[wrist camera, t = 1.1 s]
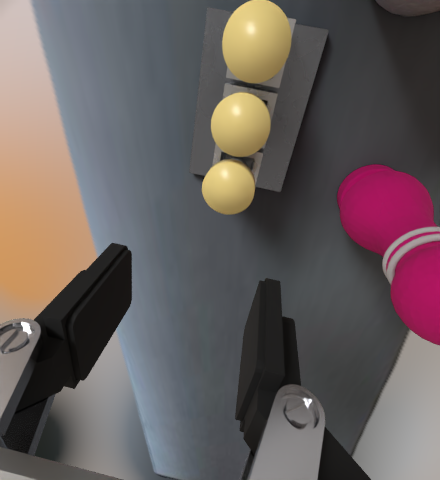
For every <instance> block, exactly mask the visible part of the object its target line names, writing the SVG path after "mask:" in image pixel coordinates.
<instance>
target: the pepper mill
mask: <svg viewBox="0 0 440 480" xmlns="http://www.w3.org/2000/svg"><path fill="white" fill-rule="evenodd" d="M337 202H338V206H339V208H340V219H341V223H342V226H343V228H344V229H345V231H346V232H347V234H348V235H349V236H350V237H351V239H353V240H354V241H355V242H356V243H358V244H359V245H360V246H362V247H364V248H366V249H368V250H371V251H373V252H375V253H378V254H380V255H381V256H382V257H383V263H382V267H383V272H384V274H385V276H386V277H387V279H388V281H389V283H390V284H391V300H392V303H393V306H394V308H395V311H396V313H397V314H398V315H399V317H400V318H401V320H402V321H403V322H404V323H405V324H406V325H407V326H408V327H409V329H410V330H412V331H413V332H414V333H416V334H417V335H418V336H420V337H421V338H423V339H425V340H427V341H430V342H432V343H434V344H437V345H440V227H438V226H437V225H436V224H435V223H434V222H433V217H434V209H433V204H432V200H431V197H430V195H429V192H428V191H427V189H426V188H425V187H424V186H423V185H422V184H421V183H420V182H419V181H418V180H417V179H416V178H415V177H413V176H411V175H409V174H406V173H403V172H399V171H395V170H393V169H392V168H390V167H388V166H385V165H377V164H374V165H367V166H364V167H361V168H359V169H357V170H355V171H353V172H352V173H351V174H349V175H348V176H347V177H346V178H345V179H344V181H343V182H342V184H341V185H340V187H339V190H338V194H337Z"/></svg>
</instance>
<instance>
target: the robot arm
mask: <svg viewBox="0 0 440 480" xmlns="http://www.w3.org/2000/svg"><path fill="white" fill-rule="evenodd" d="M131 300H132V254H131V251H130V250H128V248H127V246H124V245H120V244H115V243H112V244H110V245H109V246H108V247H107V249H106V250H105V251H104V252H103V253H102V254H101V255H100V256H99V257H98V258H97V259H96V260H95V261H94V262H93V263H92V264H91V266H90V267H89V268H88V269H87V270H83V271H81V272H80V273H79V274H78V275H77V276H76V277H75V278H74V279H73V280H72V281H71V282H70V283H69V284H68V285H67V286H66V287H65V288H64V289H63V290H62V291H61V292H60V293H59V294H58V295H57V296H56V297H55V298H54V299H53V301H52V302H51V303H50V304H49V305H48V306H47V307H46V308H45V309H44V310H43V311H42V312H41V313H40V314H39V315H38V316H37V317H36V318H35V319H34V320H31V319H25V318H23V319H14V320H10V321H7V322H5V323H2V324H0V480H122V479H118V478H115V477H111V476H107V475H103V474H99V473H96V472H92V471H89V470H84V469H81V468H77V467H73V466H69V465H66V464H62V463H59V462H55V461H51V460H47V459H44V458H40V457H35V456H34V454H35V451H36V448H37V445H38V443H39V440H40V437H41V434H42V431H43V428H44V425H45V423H46V420H47V417H48V414H49V411H50V408H51V405H52V403H53V400H54V397H55V394H56V393H58V392H60V391H61V390H62V388H63V387H64V386H66V387H70V388H73V389H75V387H76V386H77V384H78V383H79V381H80V380H85V379H86V378H87V376H88V374H89V373H90V371H91V369H92V367H93V366H94V365H95V363H96V361H97V360H98V358H99V356H100V355H101V353H102V351H103V350H104V348H105V346H106V345H107V343H108V341H109V340H110V338H111V337H112V335H113V333H114V332H115V330H116V328H117V327H118V325H119V323H120V322H121V320H122V318H123V317H124V315H125V313H126V312H127V310H128V308H129V307H130V304H131ZM235 419H236V420H240V421H241V422H240V431H241V432H244V440H245V442H246V443H247V445H248V446H249V448H250V450H249V453H248V456H247V459H246V462H245V465H244V468H243V471H242V474H241V476H240V479H239V480H371V479H370V478H369V477H368V475H367V474H366V473H365V472H364V471H363V470H362V469H361V467H360V466H359V465H358V464H357V463H356V462H355V461H354V460H353V458H352V457H351V456H350V455H349V454H348V453H347V451H346V450H345V449H344V448H343V447H342V446H341V445H340V443H339V442H338V441H337V440H336V439H335V438H334V437H333V435H332V434H331V433H330V432H329V431H328V430H327V429H326V427H325V414H324V411H323V407H322V405H321V404H320V402H319V400H318V399H317V398H316V397H315V395H314V394H313V393H312V392H310V391H309V390H307V389H306V388H304V387H302V386H301V381H300V371H299V361H298V351H297V341H296V331H295V323H294V320H293V319H291V318H287V317H282V307H281V287H280V281H277V280H272V279H268V278H266V279H265V281H259V284H258V287H257V290H256V294H255V297H254V300H253V303H252V306H251V310H250V313H249V316H248V319H247V322H246V325H245V330H244V336H243V346H242V355H241V365H240V375H239V385H238V395H237V405H236V415H235Z"/></svg>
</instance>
